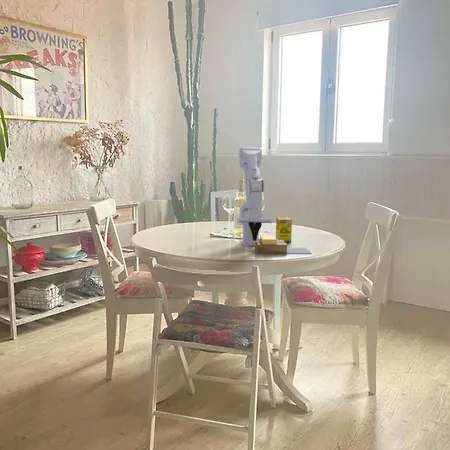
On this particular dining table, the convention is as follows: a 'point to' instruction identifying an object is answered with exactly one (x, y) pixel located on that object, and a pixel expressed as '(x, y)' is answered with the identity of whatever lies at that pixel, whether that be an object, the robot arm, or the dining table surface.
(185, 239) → the dining table surface
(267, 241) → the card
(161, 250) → the dining table surface
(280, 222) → the supplement box
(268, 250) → the brown wooden block
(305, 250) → the mat
